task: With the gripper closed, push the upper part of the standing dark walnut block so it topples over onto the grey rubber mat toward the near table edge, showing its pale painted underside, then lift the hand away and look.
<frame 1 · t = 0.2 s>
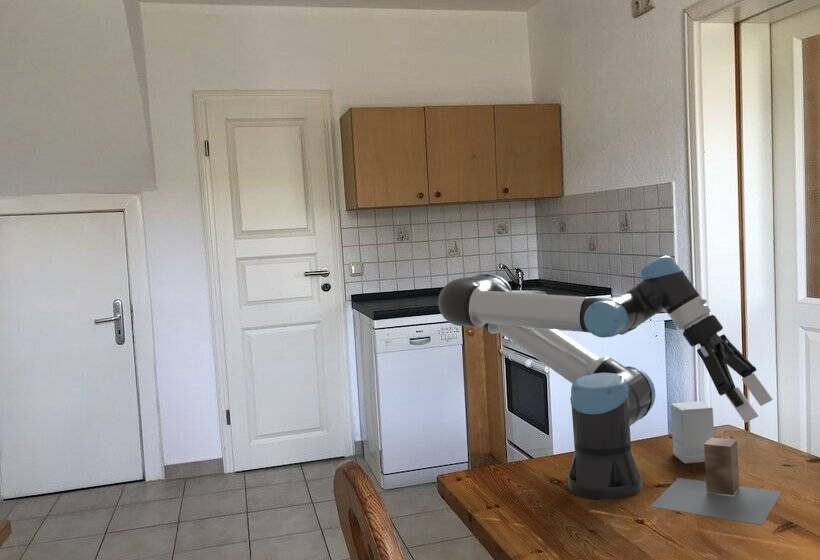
hand: (759, 411, 145), 16 cm above the table, tool tilted 30°, fingers open, 13 cm apart
rubber mat: (716, 501, 141), on the table
supplement box: (694, 459, 166), on the table
walnut block: (723, 490, 145), resting on rubber mat
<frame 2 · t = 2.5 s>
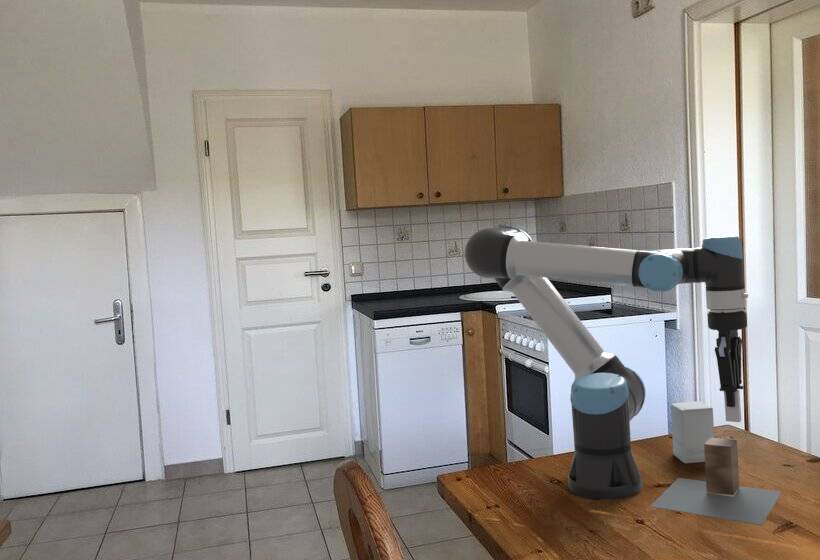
hand: (733, 420, 152), 12 cm above the table, tool pointing down, fingers closed
nothing on the table moved.
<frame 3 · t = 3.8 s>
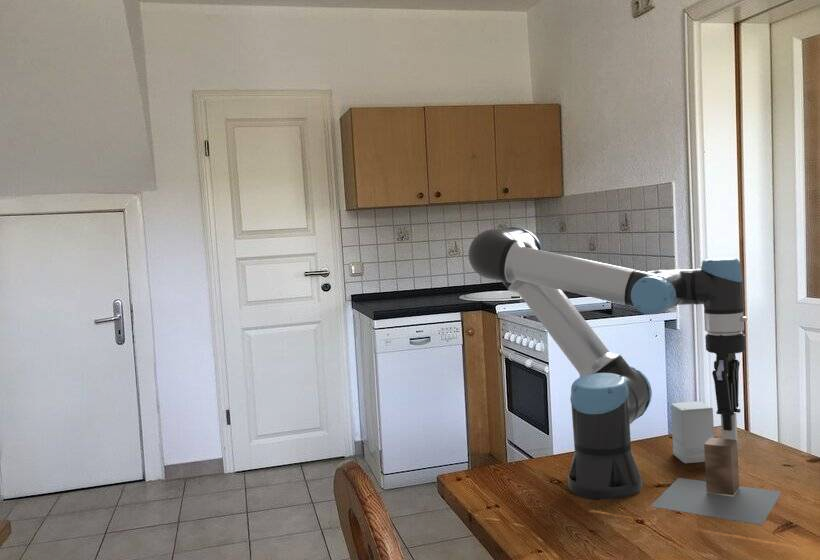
hand: (729, 444, 151), 8 cm above the table, tool pointing down, fingers closed
nothing on the table moved.
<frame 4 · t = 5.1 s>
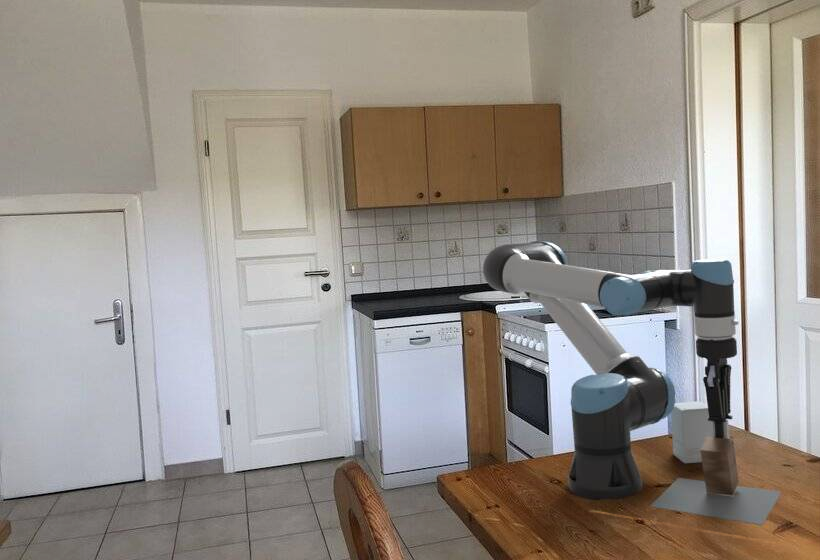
hand: (722, 451, 145), 8 cm above the table, tool pointing down, fingers closed
walnut block: (722, 487, 145), point 1 cm above the table, tilted 16°, touching gripper, rubber mat
everything else where it was.
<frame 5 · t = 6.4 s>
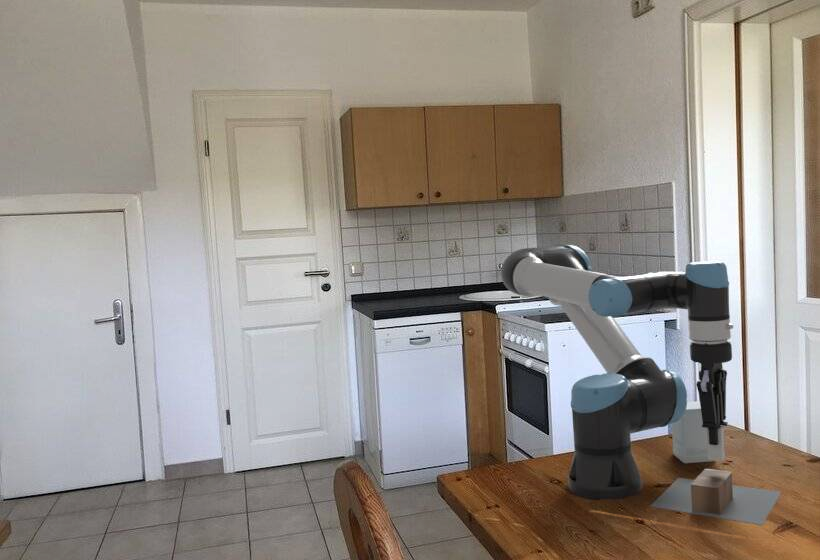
hand: (716, 459, 142), 8 cm above the table, tool pointing down, fingers closed
walnut block: (719, 482, 143), point 3 cm above the table, tilted 90°, touching rubber mat
everything else where it was.
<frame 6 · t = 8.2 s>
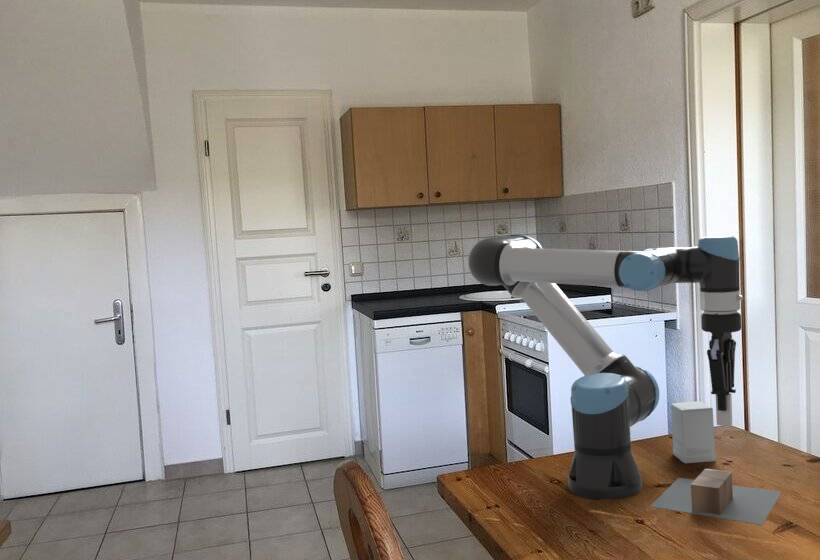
hand: (724, 424, 149), 12 cm above the table, tool pointing down, fingers closed
nothing on the table moved.
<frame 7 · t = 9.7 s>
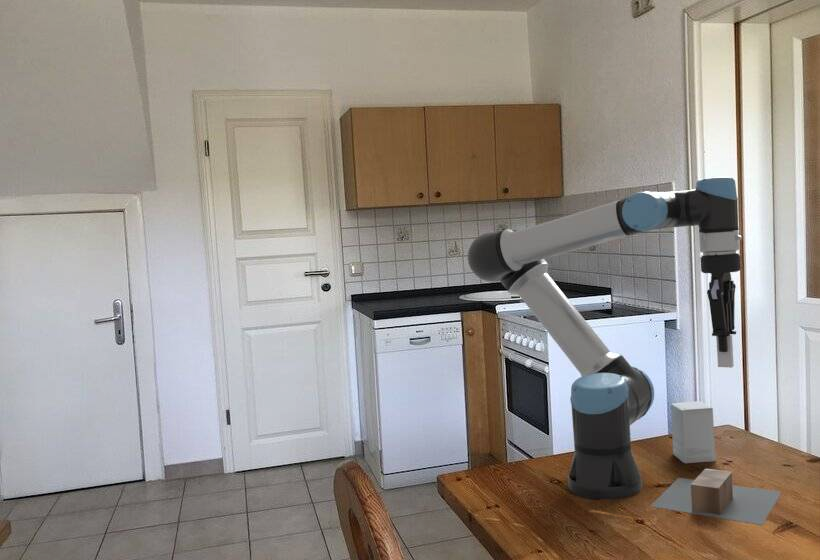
hand: (725, 366, 149), 24 cm above the table, tool pointing down, fingers closed
nothing on the table moved.
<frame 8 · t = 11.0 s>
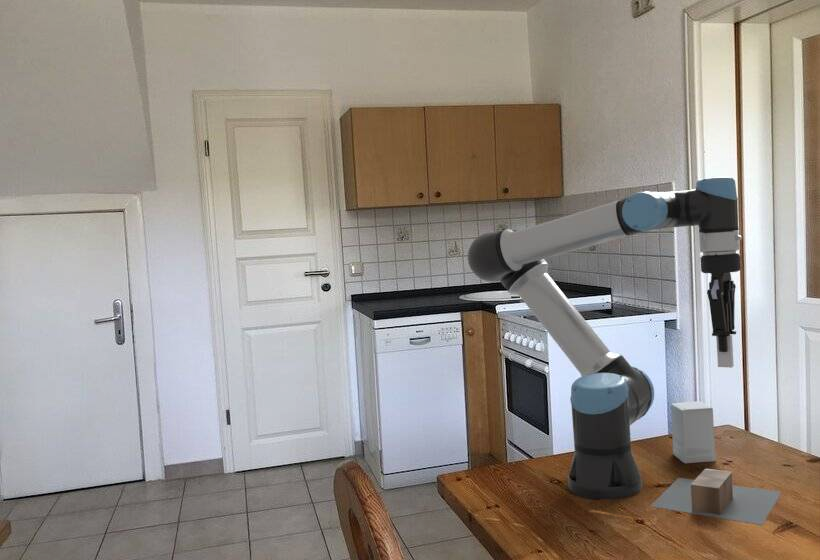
hand: (725, 366, 149), 24 cm above the table, tool pointing down, fingers closed
nothing on the table moved.
at the end: walnut block tilted 90°; walnut block inside the target area (2.0 cm from its centre), point 2.9 cm above the table; the gripper is holding nothing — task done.
